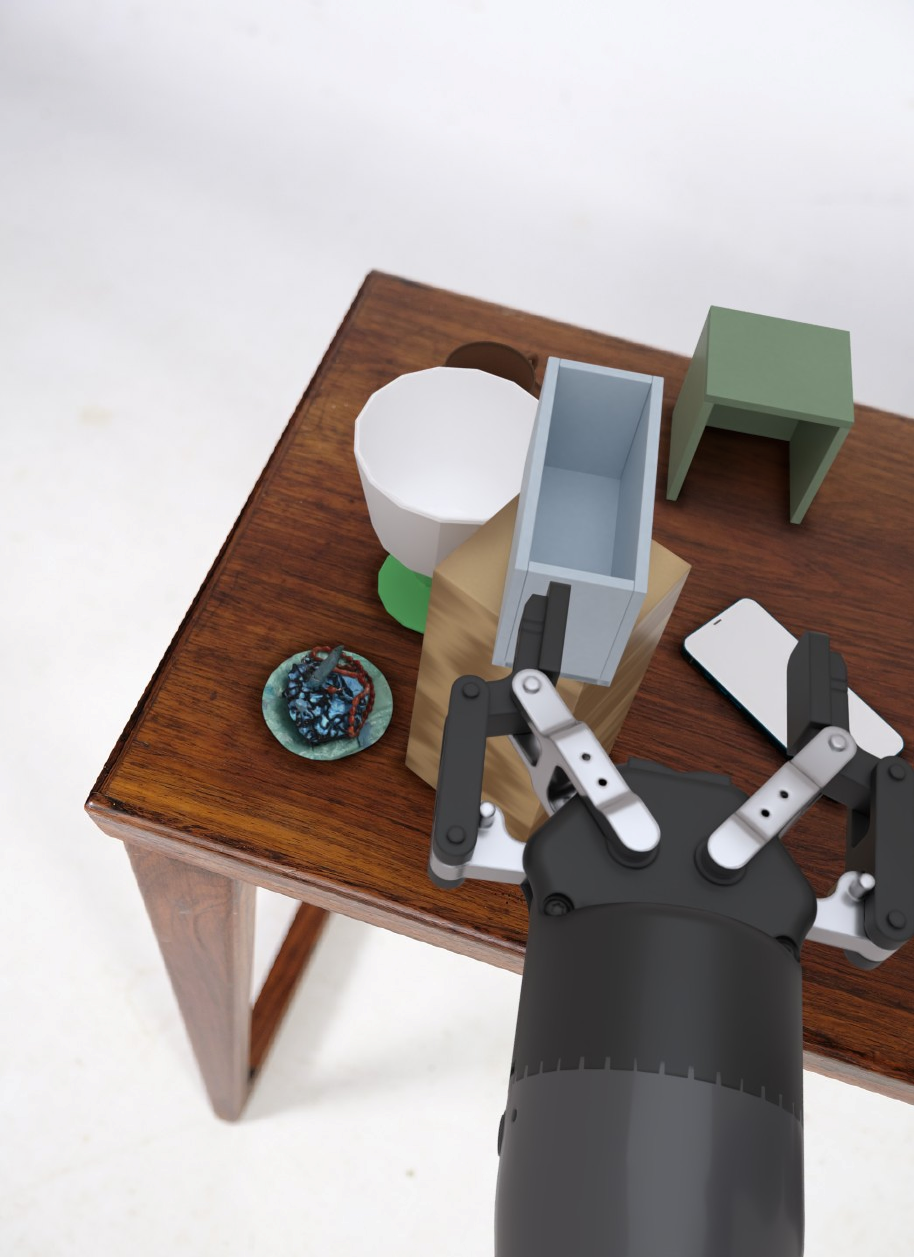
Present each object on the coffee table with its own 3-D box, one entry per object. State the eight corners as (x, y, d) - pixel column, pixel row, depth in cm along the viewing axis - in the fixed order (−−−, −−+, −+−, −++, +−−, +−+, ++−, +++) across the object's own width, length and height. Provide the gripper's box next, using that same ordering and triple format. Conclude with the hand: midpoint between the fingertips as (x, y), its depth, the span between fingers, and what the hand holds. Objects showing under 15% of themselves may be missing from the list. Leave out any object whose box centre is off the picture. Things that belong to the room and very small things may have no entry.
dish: (239, 662, 81) (332, 633, 78) (295, 655, 87) (383, 628, 84) (268, 777, 80) (363, 752, 77) (322, 761, 87) (412, 738, 84)
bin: (609, 687, 60) (647, 593, 53) (491, 665, 60) (514, 568, 53) (629, 481, 68) (664, 377, 61) (525, 461, 68) (548, 355, 61)
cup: (539, 535, 93) (577, 388, 80) (514, 681, 85) (551, 543, 72) (368, 500, 93) (378, 347, 80) (326, 642, 86) (330, 498, 73)
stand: (607, 758, 83) (692, 565, 65) (520, 858, 78) (585, 679, 60) (495, 673, 86) (547, 467, 68) (404, 765, 81) (433, 568, 63)
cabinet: (799, 524, 97) (854, 422, 87) (666, 499, 97) (706, 394, 87) (798, 436, 103) (850, 331, 93) (672, 412, 103) (710, 304, 93)
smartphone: (905, 749, 86) (744, 599, 92) (911, 743, 85) (748, 592, 91) (835, 809, 82) (673, 650, 88) (840, 804, 81) (676, 643, 87)
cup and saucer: (445, 358, 103) (453, 302, 98) (573, 409, 101) (587, 355, 96) (383, 446, 97) (387, 391, 92) (518, 503, 95) (530, 450, 90)
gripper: (994, 1149, 27) (940, 593, 37) (386, 1034, 28) (485, 507, 37) (868, 1204, 34) (848, 716, 43) (371, 1109, 34) (459, 642, 43)
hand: (681, 620), depth 40 cm, fingers open, 8 cm apart
